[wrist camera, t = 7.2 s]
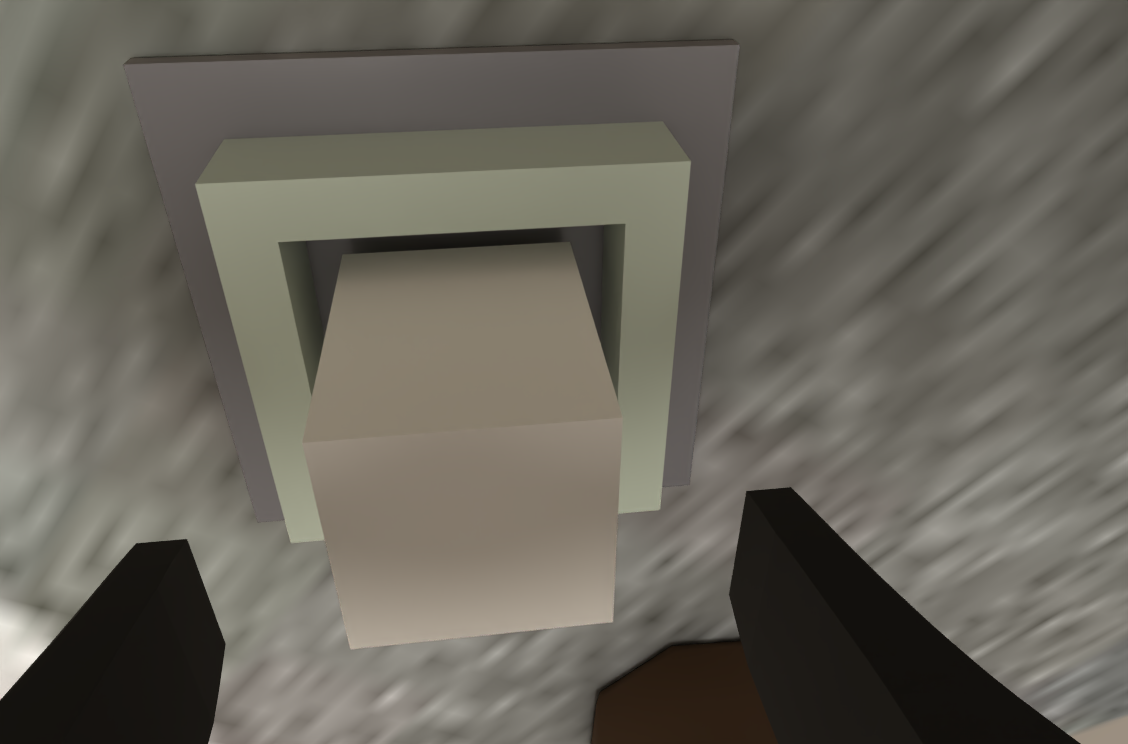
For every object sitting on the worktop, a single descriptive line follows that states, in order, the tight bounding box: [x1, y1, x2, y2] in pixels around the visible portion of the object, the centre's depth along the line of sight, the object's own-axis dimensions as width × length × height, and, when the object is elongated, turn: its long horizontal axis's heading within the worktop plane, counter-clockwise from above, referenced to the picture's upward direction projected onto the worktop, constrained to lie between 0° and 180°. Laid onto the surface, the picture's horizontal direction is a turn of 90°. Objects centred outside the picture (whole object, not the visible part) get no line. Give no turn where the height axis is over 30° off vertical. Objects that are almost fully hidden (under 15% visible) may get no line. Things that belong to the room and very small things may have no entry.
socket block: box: [123, 40, 740, 543], centre depth 16 cm, size 10×10×2 cm
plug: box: [302, 242, 623, 649], centre depth 14 cm, size 4×4×6 cm
